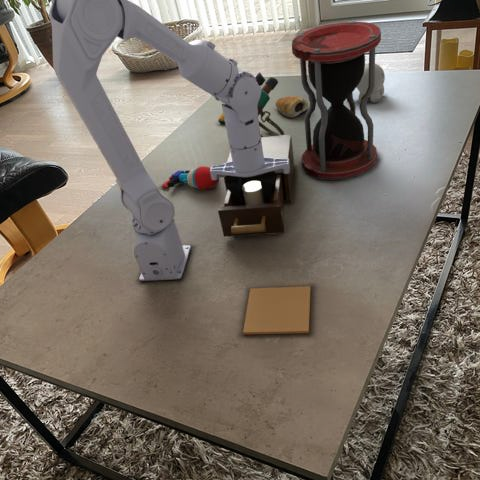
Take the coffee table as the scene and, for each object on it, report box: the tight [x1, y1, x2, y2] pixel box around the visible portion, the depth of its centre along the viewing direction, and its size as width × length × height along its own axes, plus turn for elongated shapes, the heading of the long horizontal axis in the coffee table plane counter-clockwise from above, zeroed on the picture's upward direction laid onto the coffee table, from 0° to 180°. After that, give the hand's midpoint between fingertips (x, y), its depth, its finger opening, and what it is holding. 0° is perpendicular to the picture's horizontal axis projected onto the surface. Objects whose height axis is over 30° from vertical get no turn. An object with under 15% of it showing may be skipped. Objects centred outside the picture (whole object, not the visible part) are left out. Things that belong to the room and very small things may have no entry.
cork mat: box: [242, 285, 312, 335], centre depth 77 cm, size 10×10×1 cm
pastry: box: [275, 95, 309, 119], centre depth 128 cm, size 9×7×4 cm
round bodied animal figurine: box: [355, 62, 386, 103], centre depth 124 cm, size 7×12×8 cm, turn 62°
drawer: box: [217, 173, 285, 237], centre depth 92 cm, size 17×11×6 cm, turn 173°
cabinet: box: [223, 134, 295, 205], centre depth 102 cm, size 15×13×8 cm
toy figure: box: [161, 165, 220, 191], centre depth 108 cm, size 8×5×15 cm
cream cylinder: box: [242, 181, 264, 205], centre depth 93 cm, size 4×4×5 cm
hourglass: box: [291, 20, 382, 181], centre depth 98 cm, size 16×16×25 cm
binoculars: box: [218, 72, 286, 137], centre depth 115 cm, size 14×14×15 cm
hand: (256, 208), depth 95 cm, fingers closed on cream cylinder, 4 cm apart
